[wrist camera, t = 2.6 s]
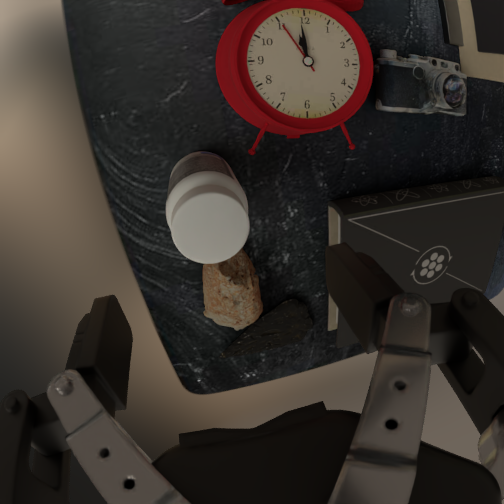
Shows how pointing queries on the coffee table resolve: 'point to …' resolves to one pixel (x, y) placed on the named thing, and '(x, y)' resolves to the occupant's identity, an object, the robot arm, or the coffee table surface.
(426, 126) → the coffee table surface
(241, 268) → the tan elongated rock
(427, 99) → the camera
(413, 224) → the book
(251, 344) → the arrowhead
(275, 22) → the alarm clock
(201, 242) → the pill bottle
